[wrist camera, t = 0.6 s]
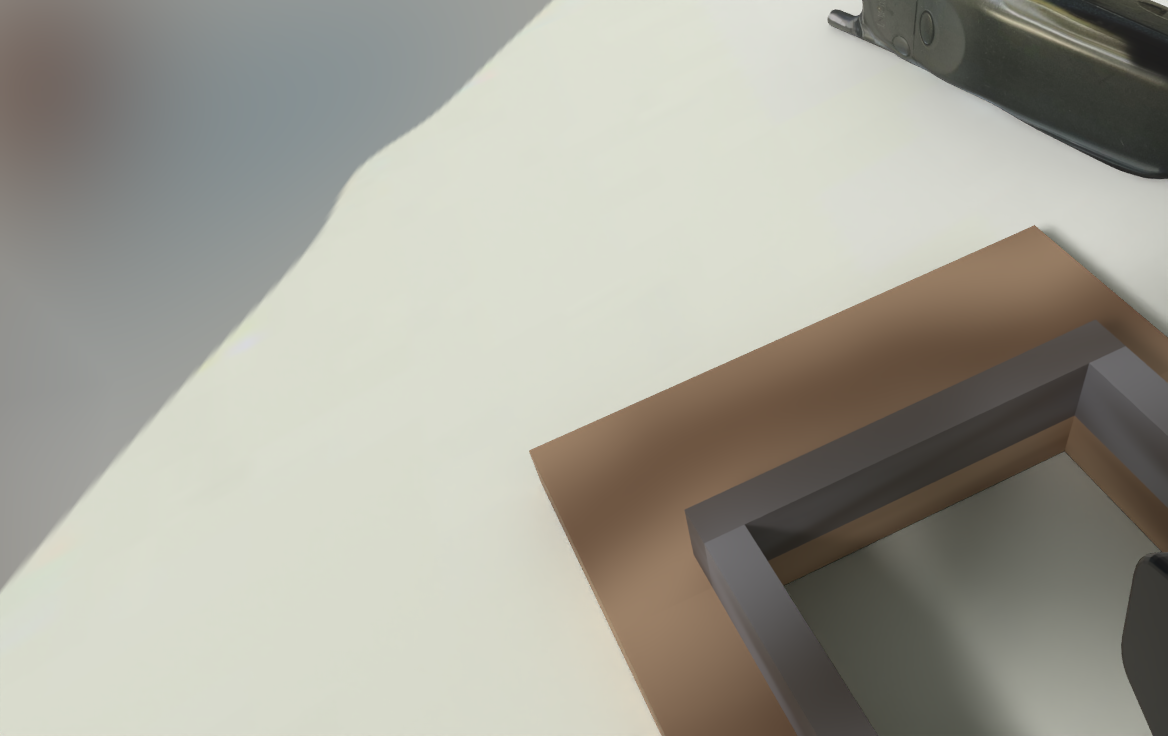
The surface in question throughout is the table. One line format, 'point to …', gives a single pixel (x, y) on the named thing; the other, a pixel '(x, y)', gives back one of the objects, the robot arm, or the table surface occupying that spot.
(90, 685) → the table surface
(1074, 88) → the mobile phone
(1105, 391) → the serum stand
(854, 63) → the table surface
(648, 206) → the table surface
